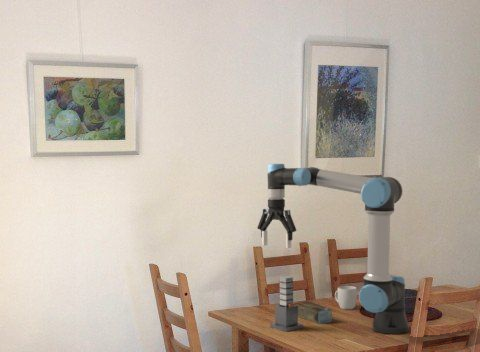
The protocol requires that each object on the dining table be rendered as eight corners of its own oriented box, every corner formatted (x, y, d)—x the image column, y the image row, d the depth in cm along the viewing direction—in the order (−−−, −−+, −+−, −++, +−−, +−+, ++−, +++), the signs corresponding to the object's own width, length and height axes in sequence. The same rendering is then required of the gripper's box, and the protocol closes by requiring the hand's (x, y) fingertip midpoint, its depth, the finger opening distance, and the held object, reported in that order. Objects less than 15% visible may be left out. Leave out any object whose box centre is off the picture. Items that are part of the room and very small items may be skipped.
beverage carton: (318, 324, 313) (317, 309, 313) (293, 316, 330) (293, 302, 330) (332, 322, 317) (332, 307, 317) (307, 314, 334) (307, 300, 334)
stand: (303, 327, 307) (302, 302, 307) (286, 331, 301) (286, 306, 300) (286, 323, 315) (286, 299, 314) (270, 327, 308) (269, 302, 308)
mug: (360, 308, 344) (360, 287, 344) (346, 311, 339) (346, 290, 338) (342, 304, 354) (342, 284, 354) (328, 306, 349) (328, 286, 349)
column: (293, 323, 307) (293, 277, 307) (286, 325, 305) (286, 278, 304) (286, 321, 311) (286, 276, 310) (279, 323, 308) (279, 277, 307)
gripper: (304, 199, 311) (304, 247, 311) (260, 197, 327) (260, 243, 328) (293, 200, 305) (293, 249, 306) (249, 198, 322) (249, 245, 322)
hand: (276, 246), depth 317 cm, fingers open, 13 cm apart
